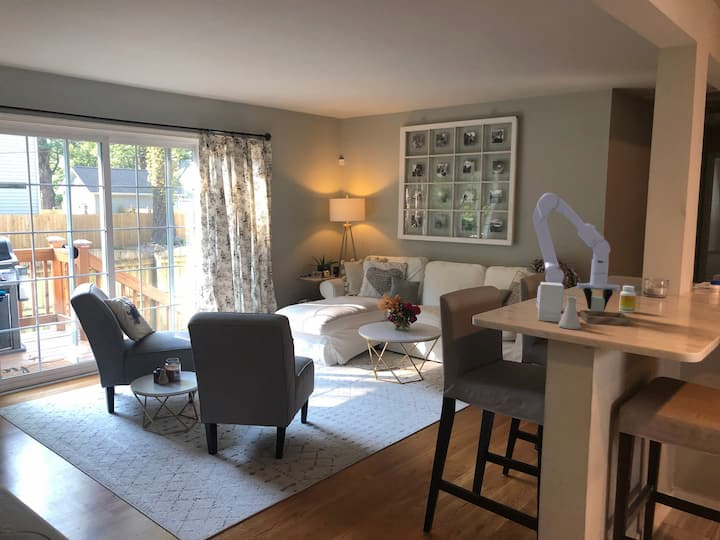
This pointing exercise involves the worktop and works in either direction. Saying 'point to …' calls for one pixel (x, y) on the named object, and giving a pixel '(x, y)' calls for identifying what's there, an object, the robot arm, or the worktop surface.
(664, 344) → the worktop surface
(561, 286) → the supplement box
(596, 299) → the sage block
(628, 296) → the supplement bottle
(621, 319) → the tray
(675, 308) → the worktop surface
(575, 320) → the flask
